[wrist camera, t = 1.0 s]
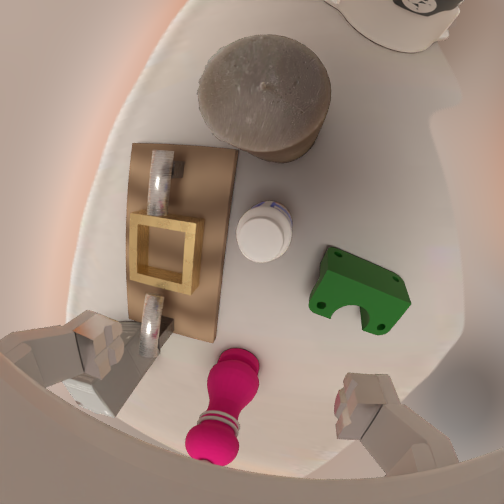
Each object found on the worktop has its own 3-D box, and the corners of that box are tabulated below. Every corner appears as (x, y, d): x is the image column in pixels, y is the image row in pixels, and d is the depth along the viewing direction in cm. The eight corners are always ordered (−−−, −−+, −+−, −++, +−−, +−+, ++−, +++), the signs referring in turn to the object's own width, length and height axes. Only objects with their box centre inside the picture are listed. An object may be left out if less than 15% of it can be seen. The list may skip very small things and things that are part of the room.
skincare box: (147, 319, 40) (90, 380, 25) (163, 356, 42) (117, 421, 27) (110, 321, 42) (53, 372, 27) (125, 354, 43) (78, 409, 28)
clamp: (322, 272, 38) (292, 300, 31) (340, 237, 35) (313, 260, 28) (390, 318, 33) (375, 358, 27) (414, 286, 30) (407, 324, 23)
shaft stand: (138, 143, 32) (94, 139, 23) (238, 150, 31) (216, 142, 22) (133, 314, 40) (101, 344, 31) (215, 337, 39) (195, 378, 30)
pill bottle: (248, 244, 34) (230, 270, 25) (246, 200, 32) (226, 210, 23) (292, 244, 33) (291, 272, 24) (292, 199, 31) (291, 210, 22)
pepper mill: (268, 352, 38) (243, 470, 19) (256, 385, 40) (230, 491, 21) (220, 339, 38) (169, 447, 20) (213, 372, 41) (168, 472, 22)
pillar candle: (334, 114, 28) (361, 67, 14) (288, 179, 31) (280, 180, 17) (265, 73, 28) (240, 8, 13) (221, 135, 31) (163, 108, 16)
